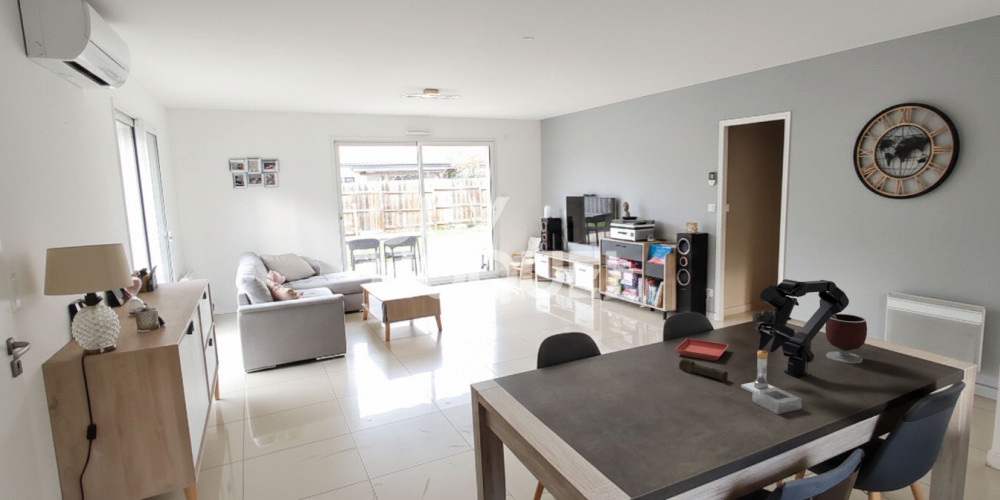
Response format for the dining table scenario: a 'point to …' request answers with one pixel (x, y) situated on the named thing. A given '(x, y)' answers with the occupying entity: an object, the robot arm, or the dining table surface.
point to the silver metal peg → (761, 370)
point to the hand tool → (702, 370)
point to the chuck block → (777, 400)
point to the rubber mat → (752, 387)
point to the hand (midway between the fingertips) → (765, 350)
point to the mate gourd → (846, 336)
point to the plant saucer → (701, 349)
